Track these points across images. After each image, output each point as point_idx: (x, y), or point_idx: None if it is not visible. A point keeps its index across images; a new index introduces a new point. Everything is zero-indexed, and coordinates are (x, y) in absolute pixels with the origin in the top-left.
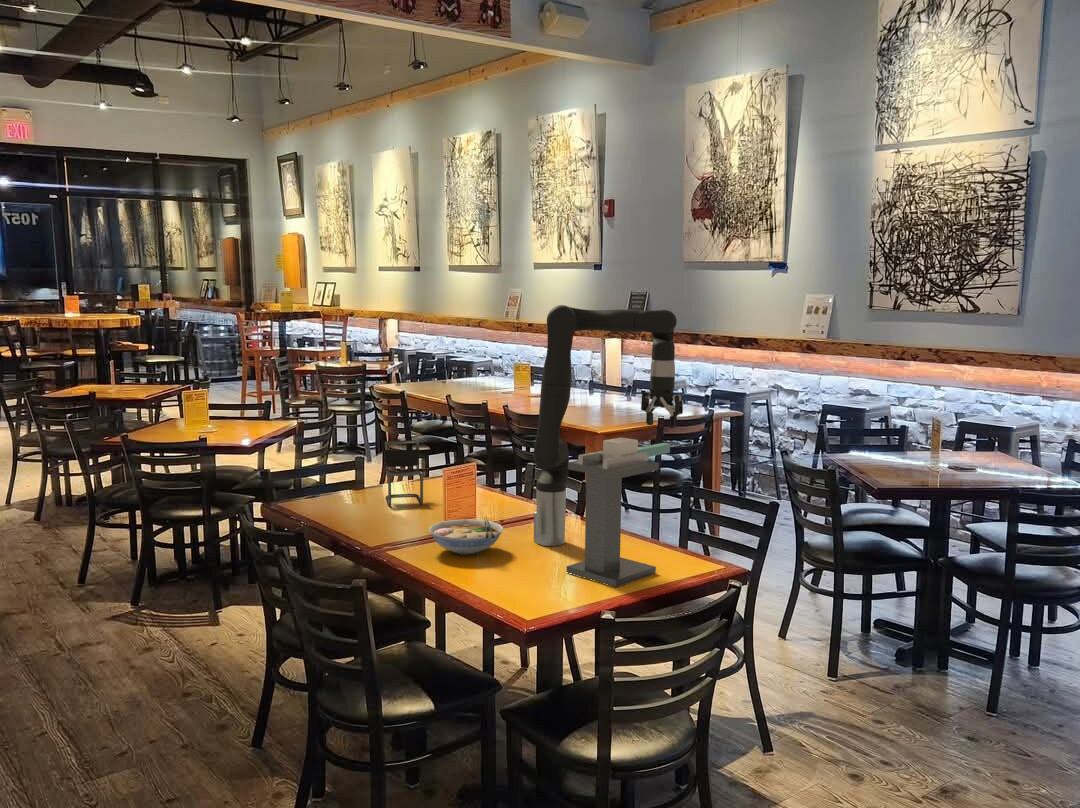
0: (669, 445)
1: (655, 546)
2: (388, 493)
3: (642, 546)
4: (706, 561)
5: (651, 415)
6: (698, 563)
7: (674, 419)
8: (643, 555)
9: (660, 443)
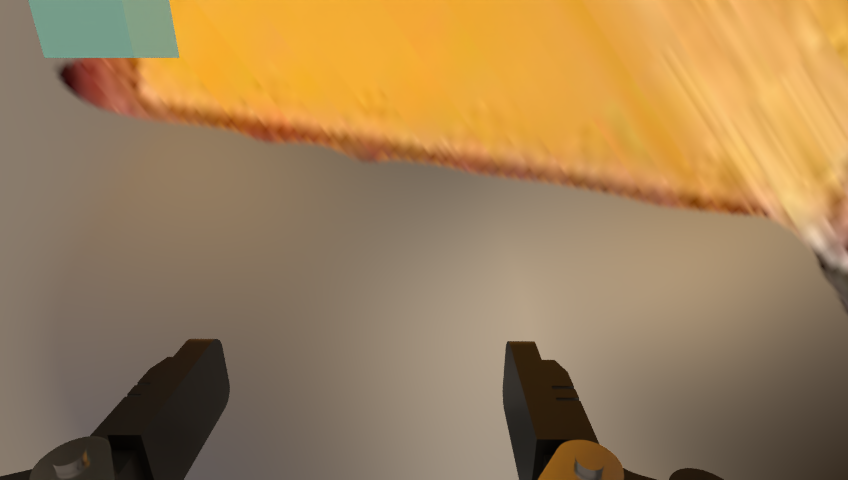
0: (51, 47)
1: (411, 128)
2: None
3: (439, 98)
4: (212, 105)
5: (523, 457)
6: (211, 70)
7: (108, 425)
8: (374, 13)
9: (121, 7)
